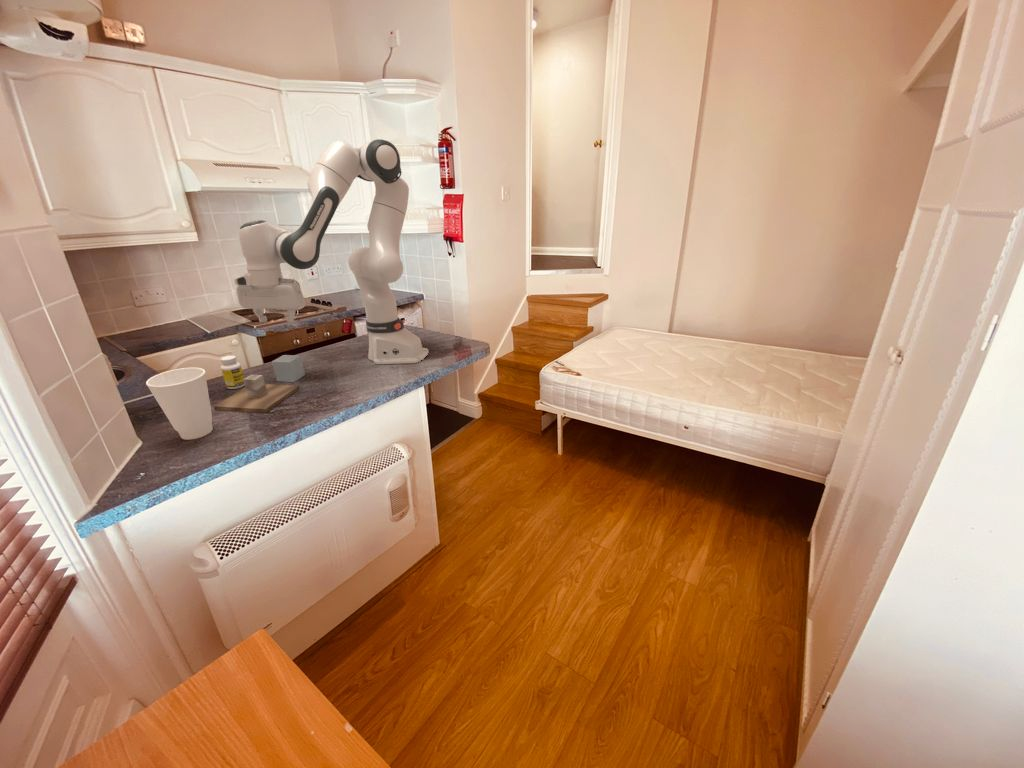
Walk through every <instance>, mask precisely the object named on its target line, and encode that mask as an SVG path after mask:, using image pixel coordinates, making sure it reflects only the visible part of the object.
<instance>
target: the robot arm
mask: <svg viewBox="0 0 1024 768" xmlns="http://www.w3.org/2000/svg"><path fill="white" fill-rule="evenodd" d="M401 175H402V169H401V156H400V152H399V150H398V149H397V148H396V146H395V145H394V144H393V143H392V142H391V141H388V140H387V139H386V140H385V139H381V138H380V139H374V140H371V141H368V142H366V143H363V144H362V145H361V146H359V147H357V148H356V147H354V146H353V145H351V144H350V143H348V142H346V141H345V140H337V139H336V140H334V141H333V142H331V143H330V145H328V146H327V148H326V149H325V150H324V151H323V153H321V155H320V156H319V158H318V159H317V161H316V162H315V164H314V165H313V168H312V170H311V171H310V174H309V177H308V180H307V181H308V182H307V188H308V191H309V194H310V195H311V204H310V206H309V209H308V211H307V212H306V214H305V216H304V217H303V220H302V222H301V224H300V225H299V227H298V229H296V230H295V231H290V230H287V229H283V228H281V227H277V226H276V225H273V224H271V223H269V222H268V221H266V220H263V219H262V220H254V221H250V222H246V223H243V224H242V225H241V226H240V227H239V228H238V229H239V231H238V236H239V242H240V247H241V251H242V255H243V257H244V258H245V260H246V269H247V273H245V274H243V275H241V276H238V277H235V278H234V280H233V281H234V284H235V285H236V286H237V287H236V295H237V300H238V303H239V305H240V306H241V308H243V309H252V311H253V314H255V316H256V317H257V318H258V321H259V322H260V323H267V322H268V317H267V315H264V313H263V312H262V310H286V311H287V313H288V316H287V317H285V320H286V323H287V324H293V323H295V314H296V313H297V312H296V311H298V310H301V309H303V308H305V306H306V301H305V297H304V294H303V292H302V289H301V285H300V284H301V283H300V282H298V281H297V280H296V279H295V278H285V277H284V278H283V274H282V273H283V272H282V270H281V269H282V268H281V264H284V263H285V264H288V265H289V266H291V267H292V268H294V269H298V270H307V269H311V268H312V267H314V266H315V265H316V263H317V262H318V261H319V258H320V253H321V243H322V240H323V237H324V236H325V233H326V232H327V229H328V228H329V226H330V223H331V221H332V219H333V217H334V215H335V213H336V212H337V211H336V210H337V209H338V207H339V206H340V204H341V202H342V200H343V199H344V198H345V196H346V195H347V193H348V191H349V190H350V189H351V186H352V184H353V182H354V180H355V179H357V178H358V179H361V180H362V181H365V182H371V183H372V182H373V184H374V187H375V189H374V190H375V191H374V192H375V193H374V194H375V195H374V197H373V201H372V204H371V209H370V212H369V217H368V220H367V227H366V228H367V230H368V234H369V235H368V236H369V246H368V247H367V246H365V247H364V246H363V247H358V248H356V249H354V250H352V251H351V252H350V254H349V256H348V260H347V262H348V267H349V269H350V271H352V273H353V275H354V277H355V281H356V283H357V285H358V289H359V291H360V294H361V297H362V301H363V306H364V310H365V311H364V312H365V316H366V320H365V325H366V326H365V327H366V332H367V336H368V354H367V358H368V360H369V361H372V362H373V363H374V364H375V365H393V364H394V365H395V364H398V365H399V364H416V363H420V362H422V361H423V360H425V359H426V358H427V357H428V356H429V354H430V351H429V348H427V347H426V348H425V347H423V345H422V341H421V339H420V337H419V336H418V335H416V334H414V333H413V332H411V331H410V330H408V329H407V328H405V325H404V324H405V323H406V322H405V319H403V320H402V319H401V318H400V317H399V315H398V309H397V301H396V296H395V294H394V293H393V291H392V289H391V287H390V285H389V284H392V283H395V282H397V281H399V279H401V277H402V275H403V272H404V266H403V262H402V260H401V256H400V239H401V234H402V231H403V230H402V229H403V226H404V221H405V218H406V213H407V210H408V203H409V194H410V192H409V190H410V188H409V185H408V184H407V182H406V181H405V180H404V179H403V178H402V176H401ZM428 353H429V354H428ZM427 355H428V356H427ZM426 356H427V357H426ZM425 357H426V358H425ZM424 358H425V359H424ZM421 360H422V361H421Z"/></svg>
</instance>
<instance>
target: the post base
mask: <svg viewBox="0 0 1024 768" xmlns="http://www.w3.org/2000/svg"><path fill="white" fill-rule="evenodd" d="M244 378H245V379H243V381H244V384H245V385H244V388H242V389H241V390H239V391H237V392H235V393H234V394H232V395H230V396H229V397H227V398H225V399H224V400H222V401H221V402H218V403H217V404H216V405H214V406H213V408H214V410H215V411H223V412H224V411H225V412H242V413H245V412H246V413H257V414H258V413H259V414H260V413H261V414H267V413H268V412H269V411H271V410H272V409H274V408H275V407H277V405H279V404H280V403H282V402H284V401H285V400H287V399H288V398H289V397H291V396H292V395H293V394H295V393H296V392H298V391H299V390H300V387H299V386H300V385H289V384H272V383H266V382H265V379H264V375H263V374H250V375H248V376H247V377H244Z"/></svg>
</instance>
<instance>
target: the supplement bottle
mask: <svg viewBox="0 0 1024 768" xmlns="http://www.w3.org/2000/svg"><path fill="white" fill-rule="evenodd" d="M220 361H221V363H222V365H221V366H220V370H221V373H222V376H223V377H222V378H223V380H224V383H225V387H226V388H227V389H228V390H236V389H239V388H243V387H245V384H244V381H243V379H245V378H246V377H245V375H244V371H243V369H242V365H241V363H240V362H239V361H238V360H237V357H236V356H235V355H226V356H223V357H221V358H220Z"/></svg>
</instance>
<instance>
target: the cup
mask: <svg viewBox="0 0 1024 768" xmlns="http://www.w3.org/2000/svg"><path fill="white" fill-rule="evenodd" d="M145 386H147V387H148V389H149V391H150V392H151V394H152V395H153V397H154V399H155V400H156V401H157V403H158V405H159V407H160V408H161V410H162V411H163V413H164V415H165V416H166V418H167V419H168V421H169V423H170V424H171V426H172V427H173V430H175V431H176V432H178V434H179V437H180V439H183V440H188V441H189V440H195V439H200V438H202V437H204V436H207V435H209V434H210V433H211V432H212V431H213V429H214V428H213V424H212V423H213V414H212V408H211V401H210V397H209V395H210V394H209V388H208V382H207V376H206V370H205V369H204V368H201V367H191V366H190V367H182V368H176V369H172V370H167V371H164V372H161V373H158V374H155V375H153V376H151V377H150V378H148V379H147V380H146V382H145Z"/></svg>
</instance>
